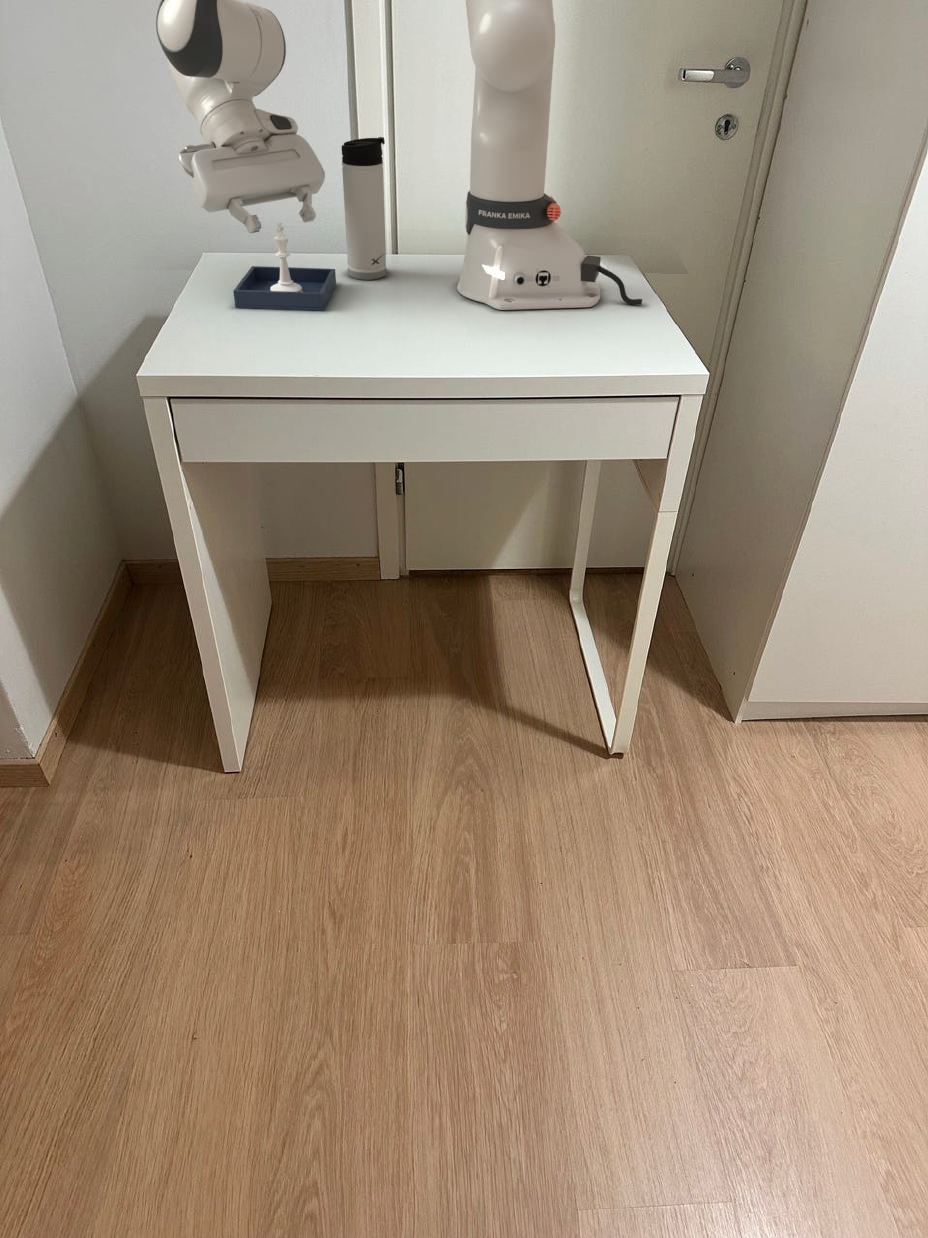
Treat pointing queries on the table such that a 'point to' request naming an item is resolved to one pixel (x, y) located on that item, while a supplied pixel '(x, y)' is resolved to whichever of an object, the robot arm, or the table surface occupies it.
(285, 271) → the chess piece
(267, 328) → the table surface
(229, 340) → the table surface
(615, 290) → the table surface
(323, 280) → the tray
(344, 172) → the travel mug
